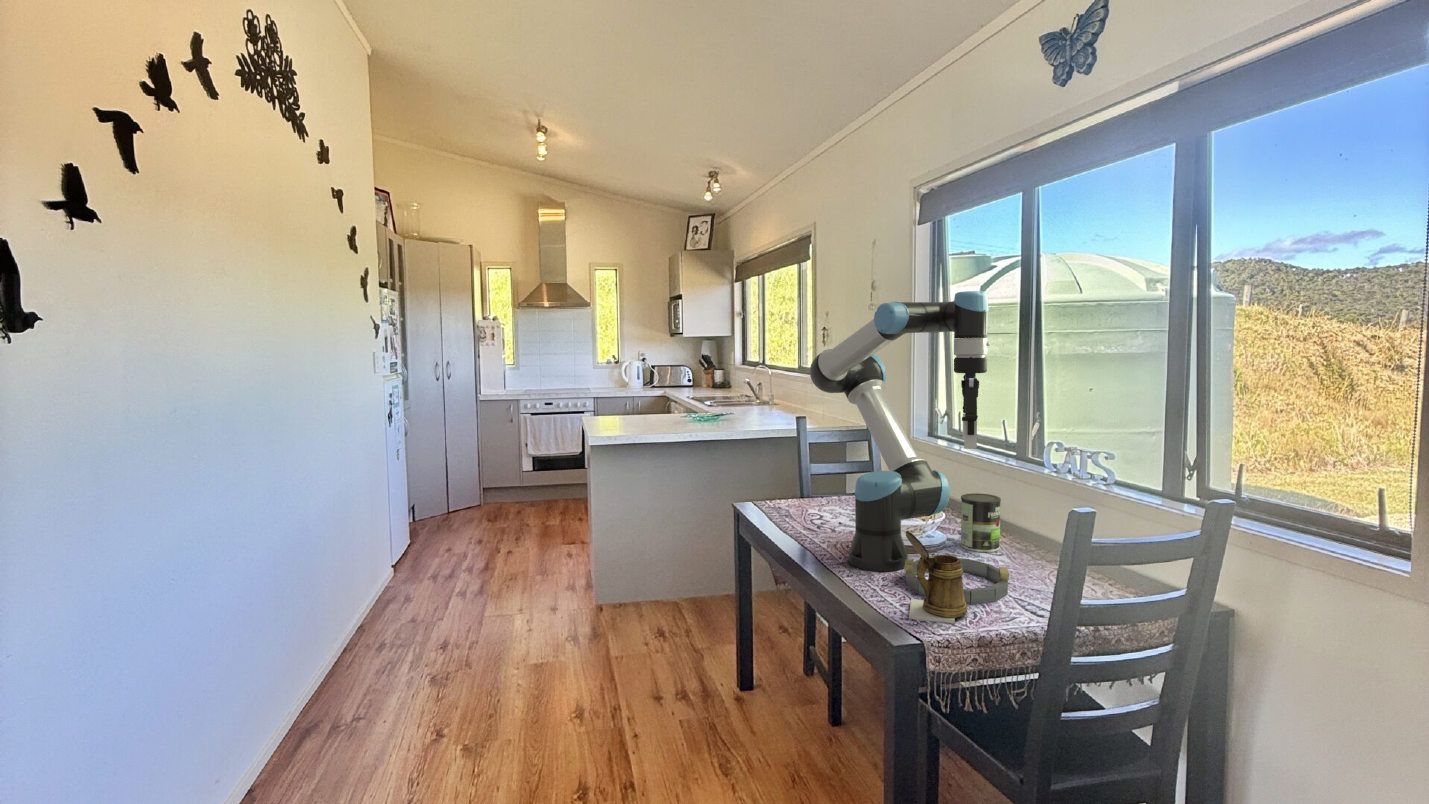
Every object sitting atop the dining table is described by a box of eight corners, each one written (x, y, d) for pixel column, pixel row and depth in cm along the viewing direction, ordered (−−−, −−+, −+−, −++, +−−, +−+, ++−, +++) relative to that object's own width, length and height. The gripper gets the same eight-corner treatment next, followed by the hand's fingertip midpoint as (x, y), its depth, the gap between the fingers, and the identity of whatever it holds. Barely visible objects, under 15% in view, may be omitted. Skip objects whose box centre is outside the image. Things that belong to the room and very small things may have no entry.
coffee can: (1006, 546, 188) (1007, 497, 187) (988, 555, 181) (989, 503, 180) (971, 539, 196) (972, 491, 194) (953, 546, 189) (953, 497, 188)
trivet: (909, 618, 142) (909, 615, 142) (911, 602, 151) (911, 599, 151) (954, 623, 140) (954, 619, 140) (953, 606, 148) (953, 603, 148)
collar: (902, 597, 154) (902, 578, 153) (907, 565, 175) (907, 548, 174) (1012, 608, 146) (1012, 588, 146) (1003, 573, 168) (1004, 555, 167)
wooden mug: (896, 605, 147) (896, 525, 146) (953, 599, 150) (954, 520, 148) (915, 622, 139) (916, 536, 137) (975, 615, 141) (977, 531, 139)
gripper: (990, 358, 149) (989, 453, 151) (984, 354, 172) (983, 436, 175) (954, 358, 151) (953, 452, 153) (953, 354, 175) (952, 435, 177)
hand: (969, 444), depth 164 cm, fingers open, 13 cm apart
